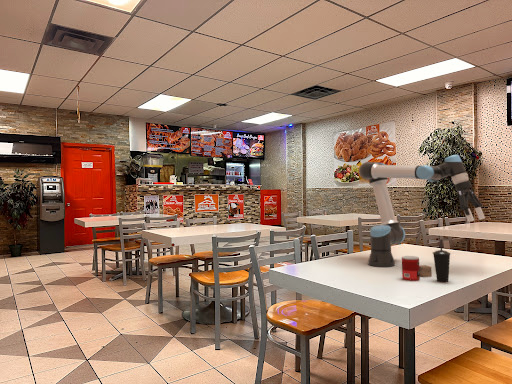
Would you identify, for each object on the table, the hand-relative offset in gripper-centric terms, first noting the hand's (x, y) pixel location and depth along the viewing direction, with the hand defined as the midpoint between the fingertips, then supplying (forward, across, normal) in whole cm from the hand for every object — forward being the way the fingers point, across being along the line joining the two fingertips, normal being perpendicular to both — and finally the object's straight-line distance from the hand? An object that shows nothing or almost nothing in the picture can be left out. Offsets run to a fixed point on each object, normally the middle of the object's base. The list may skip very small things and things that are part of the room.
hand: (476, 220), depth 187 cm
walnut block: (+21, -27, +23) cm, 41 cm away
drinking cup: (+25, -32, +12) cm, 42 cm away
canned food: (+21, -38, +24) cm, 50 cm away
